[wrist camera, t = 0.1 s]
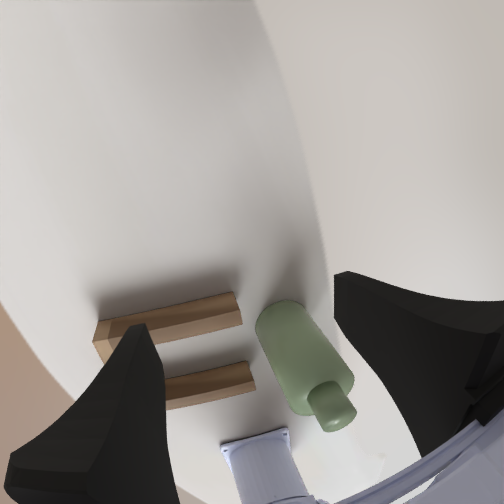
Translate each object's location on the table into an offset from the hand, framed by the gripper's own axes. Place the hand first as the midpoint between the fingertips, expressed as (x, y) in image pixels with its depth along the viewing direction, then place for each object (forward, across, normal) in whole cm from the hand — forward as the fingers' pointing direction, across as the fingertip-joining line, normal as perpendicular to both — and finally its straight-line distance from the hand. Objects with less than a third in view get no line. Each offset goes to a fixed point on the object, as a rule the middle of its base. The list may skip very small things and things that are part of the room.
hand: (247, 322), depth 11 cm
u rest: (+10, +4, +9) cm, 14 cm away
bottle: (+10, -4, +9) cm, 14 cm away
